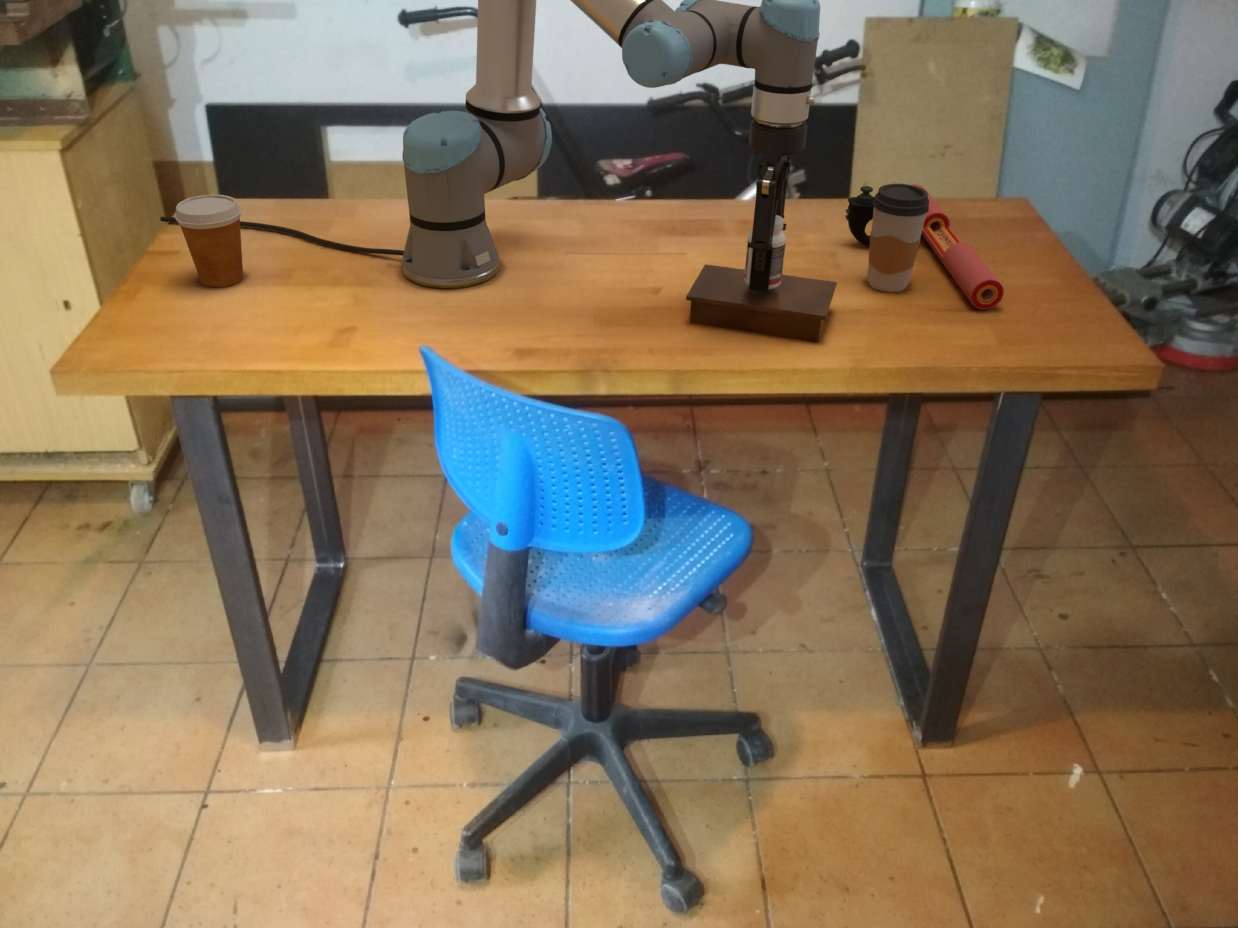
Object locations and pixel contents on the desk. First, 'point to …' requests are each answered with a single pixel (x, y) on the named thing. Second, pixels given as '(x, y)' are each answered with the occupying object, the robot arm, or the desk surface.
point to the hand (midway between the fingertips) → (762, 281)
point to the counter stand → (760, 304)
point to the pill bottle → (777, 255)
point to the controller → (860, 214)
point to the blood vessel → (961, 259)
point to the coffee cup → (895, 235)
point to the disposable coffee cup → (213, 237)
